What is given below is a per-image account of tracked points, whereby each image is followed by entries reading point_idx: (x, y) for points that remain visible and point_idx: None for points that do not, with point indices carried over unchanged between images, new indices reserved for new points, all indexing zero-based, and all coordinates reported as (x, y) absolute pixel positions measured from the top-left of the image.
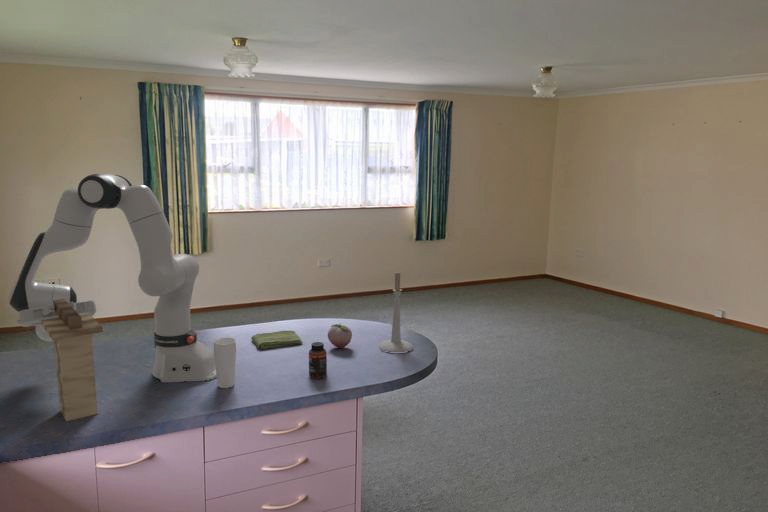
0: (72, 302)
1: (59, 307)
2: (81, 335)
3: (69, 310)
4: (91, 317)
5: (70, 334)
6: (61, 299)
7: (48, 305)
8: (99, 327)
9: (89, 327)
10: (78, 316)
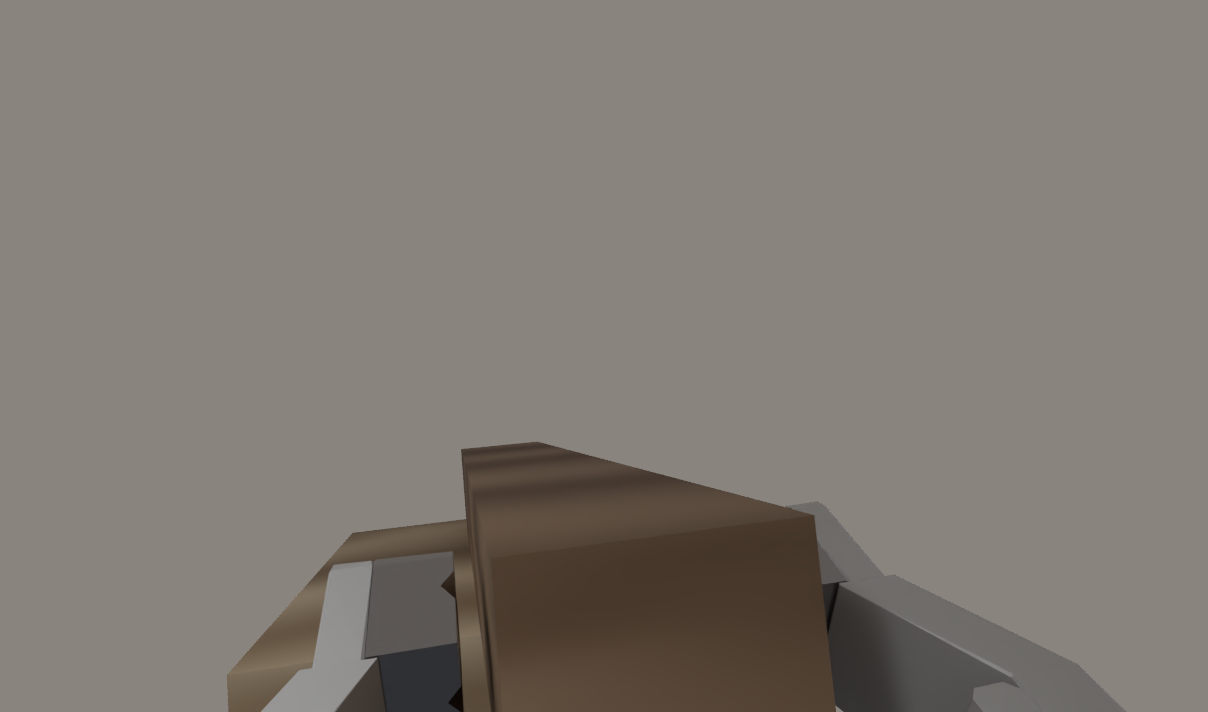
0: (359, 567)
1: (601, 460)
2: None
3: (510, 457)
4: (310, 594)
5: None
6: (575, 539)
7: (809, 503)
8: (371, 532)
9: (425, 529)
10: (474, 449)
